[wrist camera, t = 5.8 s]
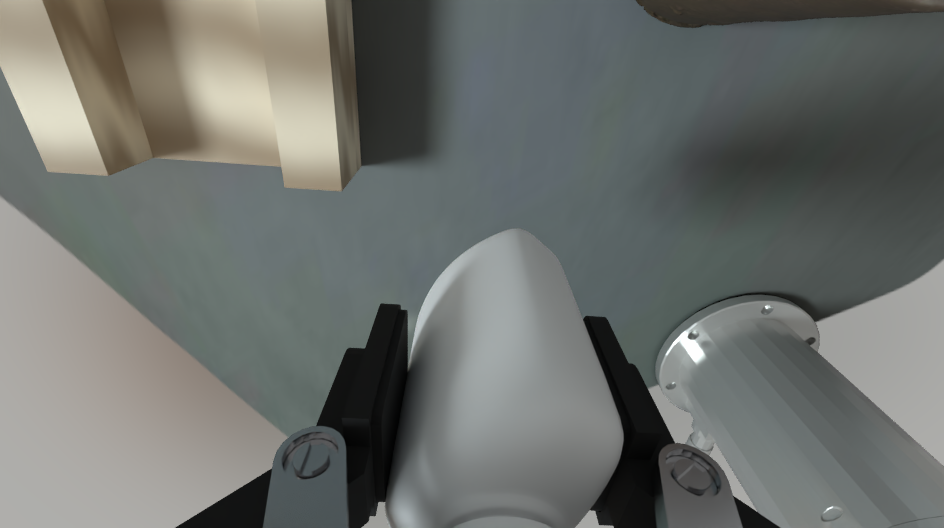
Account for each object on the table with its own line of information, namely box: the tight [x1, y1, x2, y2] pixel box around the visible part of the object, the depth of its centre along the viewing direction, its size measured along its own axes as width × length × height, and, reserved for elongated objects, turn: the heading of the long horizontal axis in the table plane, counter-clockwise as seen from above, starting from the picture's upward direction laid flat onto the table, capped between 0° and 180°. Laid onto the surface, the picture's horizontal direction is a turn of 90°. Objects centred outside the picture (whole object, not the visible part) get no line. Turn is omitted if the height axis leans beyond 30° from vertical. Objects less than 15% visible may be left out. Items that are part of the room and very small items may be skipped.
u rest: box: [0, 0, 361, 191], centre depth 20 cm, size 13×15×5 cm
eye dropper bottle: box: [385, 228, 624, 528], centre depth 10 cm, size 4×6×12 cm
